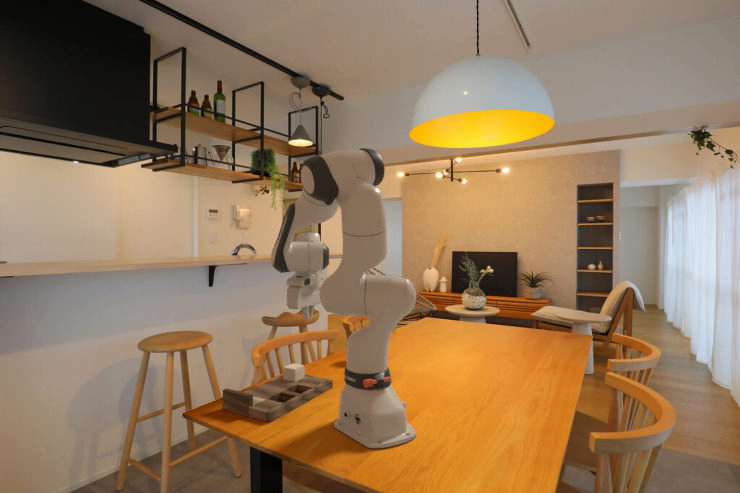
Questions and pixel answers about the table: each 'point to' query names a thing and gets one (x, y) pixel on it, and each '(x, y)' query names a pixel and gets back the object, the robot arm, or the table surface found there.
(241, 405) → the wooden compartment tray
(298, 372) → the block
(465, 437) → the table surface
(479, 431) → the table surface
